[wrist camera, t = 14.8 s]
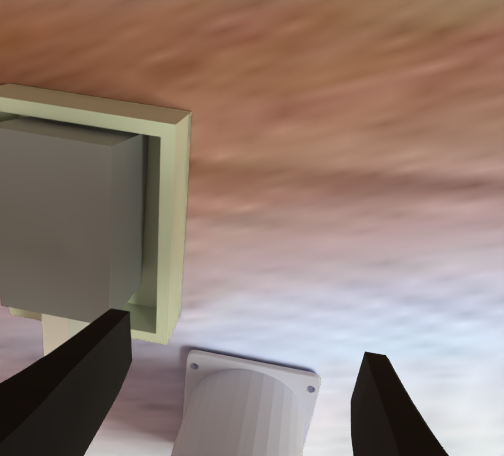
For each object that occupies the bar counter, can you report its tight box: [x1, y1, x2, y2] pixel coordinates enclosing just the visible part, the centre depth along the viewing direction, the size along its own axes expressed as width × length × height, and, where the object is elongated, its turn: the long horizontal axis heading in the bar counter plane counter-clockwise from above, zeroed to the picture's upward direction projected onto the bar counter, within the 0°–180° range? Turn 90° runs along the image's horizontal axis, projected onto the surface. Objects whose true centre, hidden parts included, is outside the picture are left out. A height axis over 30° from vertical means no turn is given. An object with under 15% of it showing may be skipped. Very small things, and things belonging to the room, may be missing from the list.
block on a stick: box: [0, 116, 149, 356], centre depth 20 cm, size 12×5×4 cm, turn 173°
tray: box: [0, 83, 192, 345], centre depth 22 cm, size 12×9×2 cm
